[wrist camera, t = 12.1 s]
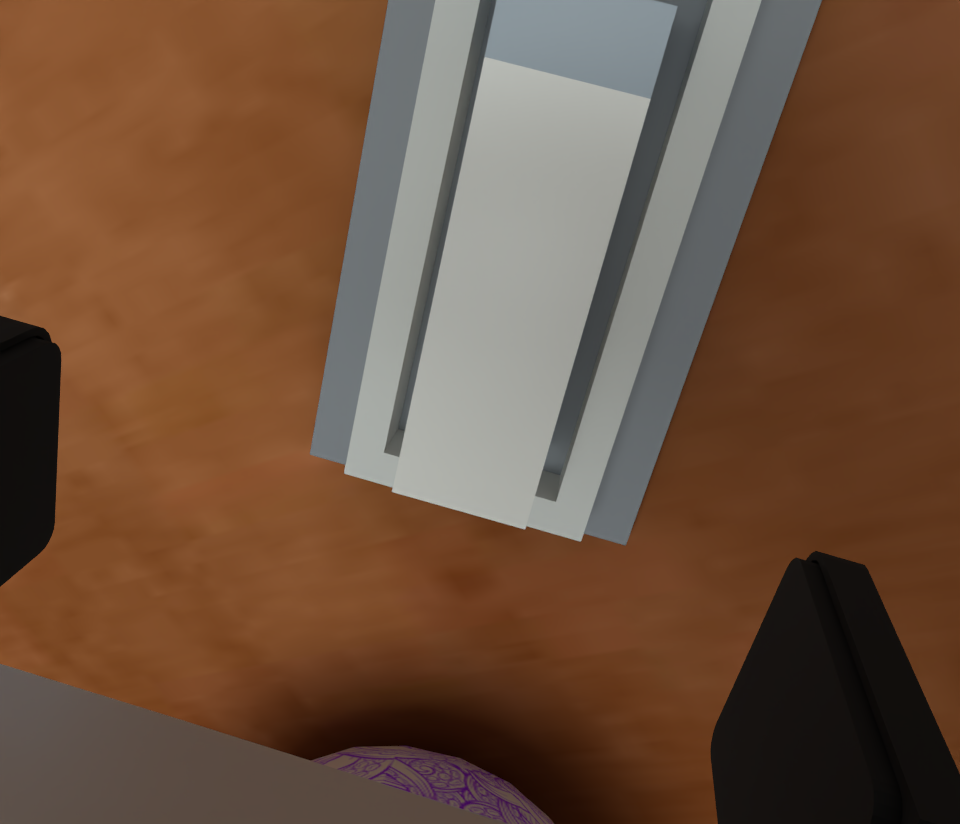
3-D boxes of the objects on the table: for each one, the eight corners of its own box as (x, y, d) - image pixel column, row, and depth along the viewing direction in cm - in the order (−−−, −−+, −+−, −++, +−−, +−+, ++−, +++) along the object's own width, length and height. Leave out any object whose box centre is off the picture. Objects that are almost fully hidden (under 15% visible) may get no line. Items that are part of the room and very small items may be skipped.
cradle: (625, 531, 33) (625, 575, 30) (318, 443, 33) (291, 478, 31) (837, -63, 25) (864, -76, 22) (426, -165, 25) (401, -191, 22)
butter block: (544, 443, 31) (525, 529, 25) (434, 413, 31) (391, 491, 25) (667, 15, 25) (677, 6, 20) (531, -19, 25) (504, -37, 20)
